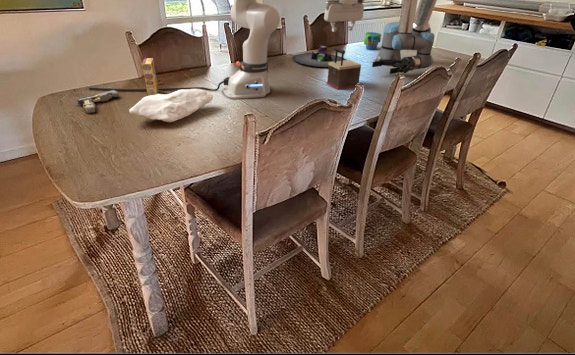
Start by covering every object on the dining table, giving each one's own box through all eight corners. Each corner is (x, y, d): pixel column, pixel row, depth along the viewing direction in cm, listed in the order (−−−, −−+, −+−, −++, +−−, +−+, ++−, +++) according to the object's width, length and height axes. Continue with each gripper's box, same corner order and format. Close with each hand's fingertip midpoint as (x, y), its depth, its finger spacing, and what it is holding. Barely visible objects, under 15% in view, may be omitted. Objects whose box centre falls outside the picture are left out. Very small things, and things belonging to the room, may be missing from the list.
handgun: (128, 97, 156) (111, 87, 164) (86, 107, 144) (70, 97, 152) (129, 103, 157) (113, 94, 165) (88, 114, 146) (72, 103, 154)
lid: (339, 69, 177) (341, 51, 173) (328, 64, 184) (329, 47, 180) (360, 67, 183) (363, 49, 178) (349, 62, 190) (351, 44, 185)
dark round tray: (359, 62, 224) (361, 47, 219) (315, 70, 207) (315, 53, 202) (323, 53, 249) (324, 39, 244) (281, 59, 231) (281, 44, 227)
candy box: (157, 97, 164) (152, 63, 155) (147, 98, 163) (141, 63, 155) (158, 91, 171) (153, 57, 163) (149, 91, 170) (143, 58, 162)
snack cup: (373, 45, 267) (376, 31, 261) (384, 49, 259) (386, 34, 254) (358, 48, 259) (360, 32, 254) (368, 51, 252) (370, 35, 246)
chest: (337, 89, 183) (339, 69, 177) (327, 83, 190) (328, 64, 184) (358, 86, 188) (360, 67, 183) (347, 80, 195) (349, 62, 190)
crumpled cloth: (117, 110, 146) (113, 90, 140) (195, 92, 166) (194, 73, 160) (143, 139, 134) (140, 118, 128) (223, 116, 154) (224, 96, 148)
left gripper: (330, 0, 159) (327, 33, 166) (367, -1, 167) (362, 30, 175) (322, -2, 163) (320, 31, 171) (358, -3, 172) (354, 28, 179)
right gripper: (425, 76, 197) (396, 81, 188) (392, 64, 215) (365, 68, 206) (428, 62, 193) (399, 66, 184) (395, 51, 211) (367, 55, 201)
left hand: (342, 30), depth 173 cm, fingers open, 8 cm apart
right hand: (381, 67), depth 195 cm, fingers open, 13 cm apart
